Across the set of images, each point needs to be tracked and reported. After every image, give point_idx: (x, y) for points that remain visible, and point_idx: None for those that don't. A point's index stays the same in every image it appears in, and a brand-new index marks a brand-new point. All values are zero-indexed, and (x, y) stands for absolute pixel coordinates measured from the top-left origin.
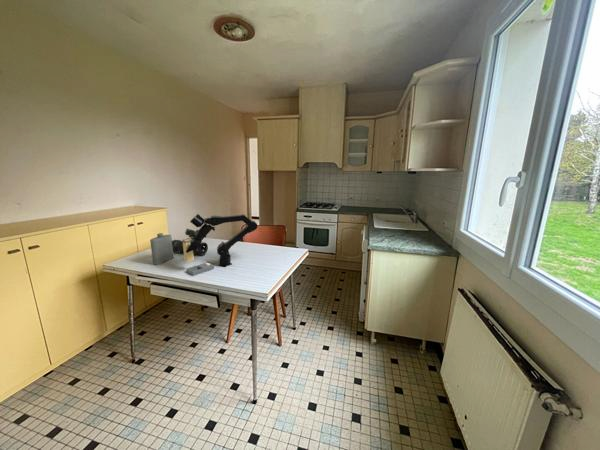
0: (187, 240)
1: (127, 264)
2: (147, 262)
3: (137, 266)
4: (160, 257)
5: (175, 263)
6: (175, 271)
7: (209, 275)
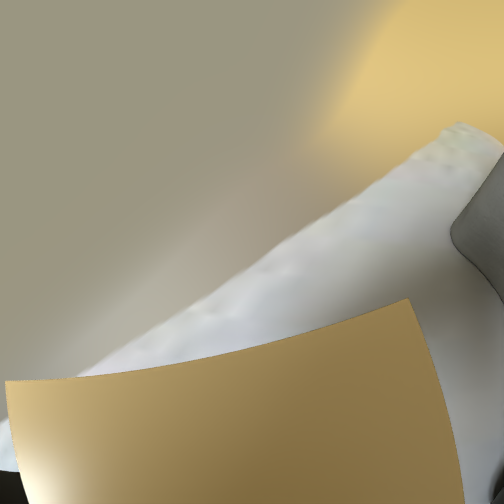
0: (36, 491)
1: (470, 150)
2: None
3: (448, 168)
4: (485, 232)
5: (449, 334)
6: (292, 322)
7: None
